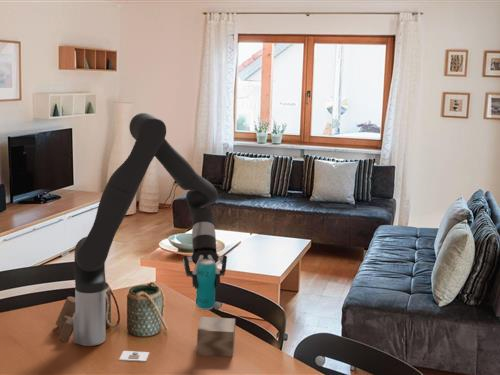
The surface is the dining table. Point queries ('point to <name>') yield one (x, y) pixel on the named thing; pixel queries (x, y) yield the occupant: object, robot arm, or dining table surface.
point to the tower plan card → (134, 356)
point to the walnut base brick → (216, 336)
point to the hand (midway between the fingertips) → (206, 287)
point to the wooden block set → (66, 319)
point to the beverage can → (205, 284)
